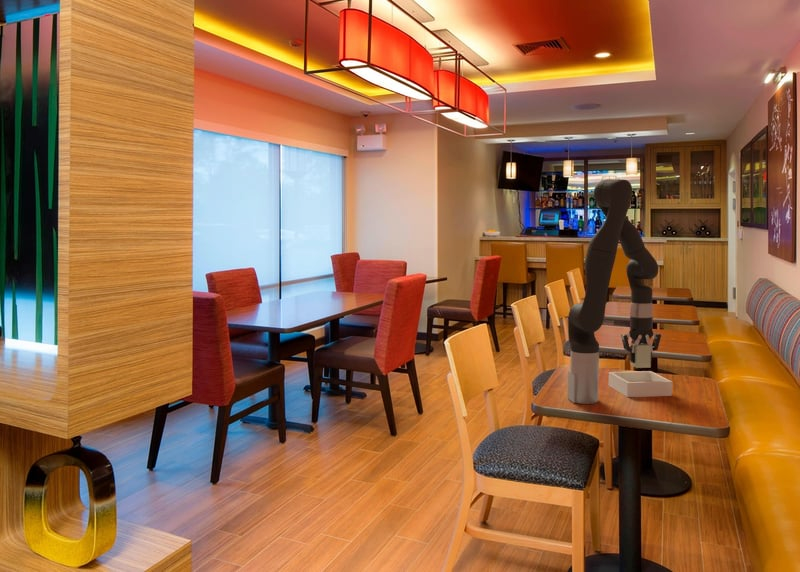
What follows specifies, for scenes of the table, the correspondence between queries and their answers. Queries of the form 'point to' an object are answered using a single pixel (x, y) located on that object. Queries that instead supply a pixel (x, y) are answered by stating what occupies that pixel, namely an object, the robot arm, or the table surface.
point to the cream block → (642, 356)
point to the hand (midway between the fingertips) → (640, 362)
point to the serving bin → (640, 384)
